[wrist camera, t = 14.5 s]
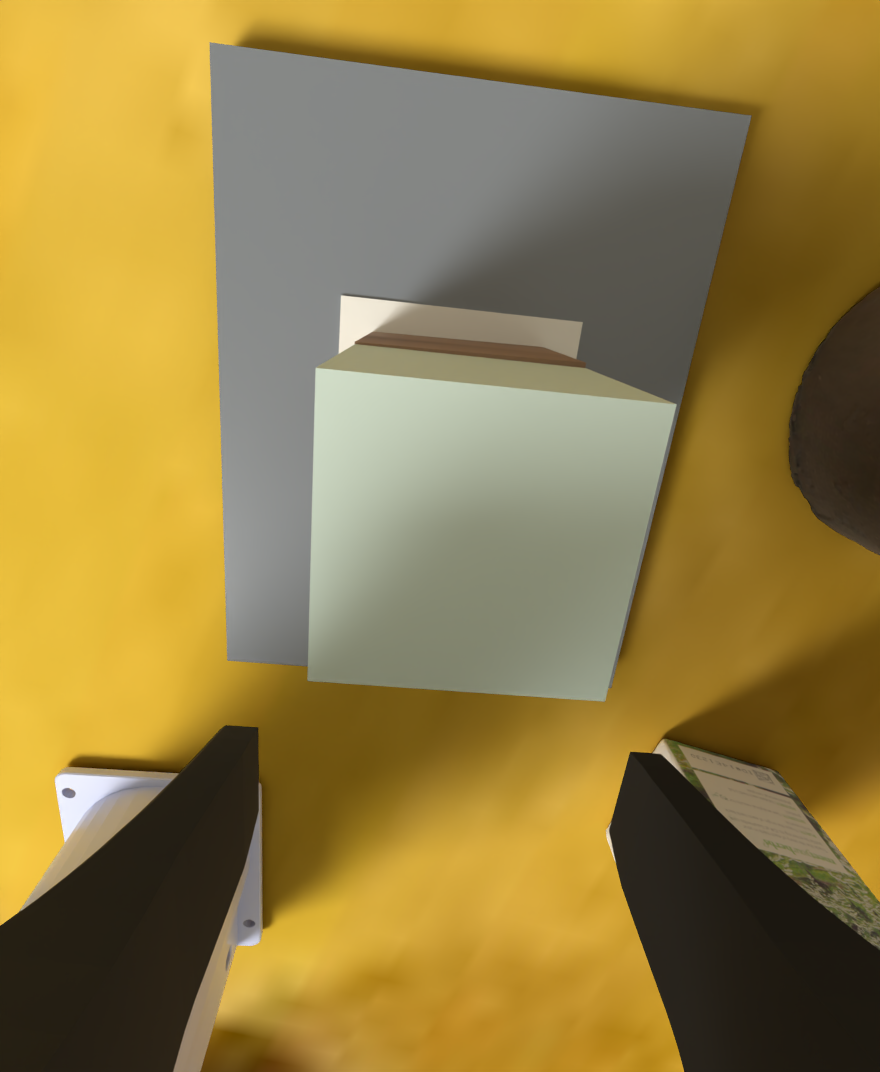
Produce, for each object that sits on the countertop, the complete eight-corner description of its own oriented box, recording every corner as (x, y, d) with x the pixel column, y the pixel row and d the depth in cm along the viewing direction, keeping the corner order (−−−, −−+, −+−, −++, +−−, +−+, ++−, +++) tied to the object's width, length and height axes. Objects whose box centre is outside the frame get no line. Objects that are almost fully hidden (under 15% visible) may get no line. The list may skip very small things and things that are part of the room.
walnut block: (520, 507, 19) (550, 572, 15) (365, 495, 19) (347, 557, 14) (542, 347, 18) (586, 362, 13) (372, 331, 17) (354, 342, 13)
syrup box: (599, 833, 26) (788, 1399, 13) (661, 728, 24) (963, 1266, 11) (713, 862, 27) (1005, 1423, 13) (782, 764, 25) (1205, 1304, 12)
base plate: (603, 672, 23) (611, 689, 22) (235, 645, 22) (226, 661, 21) (733, 126, 17) (753, 114, 16) (221, 57, 16) (208, 40, 15)
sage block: (547, 576, 15) (604, 701, 10) (344, 559, 14) (307, 680, 10) (585, 368, 13) (676, 404, 8) (354, 344, 13) (315, 367, 8)
